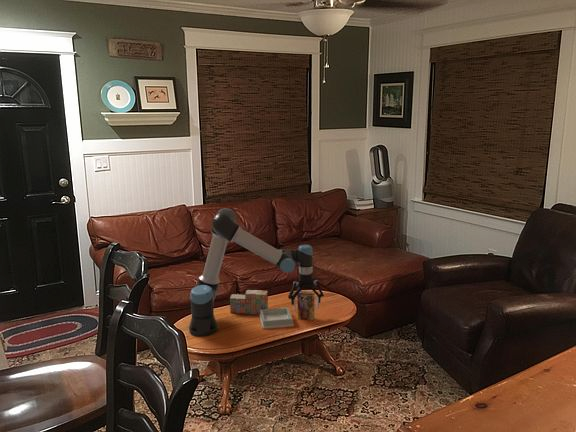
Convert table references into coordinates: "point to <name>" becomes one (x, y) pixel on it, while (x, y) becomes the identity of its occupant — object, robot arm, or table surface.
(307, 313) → the candy box
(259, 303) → the stack of blocks
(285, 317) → the open storage bin
